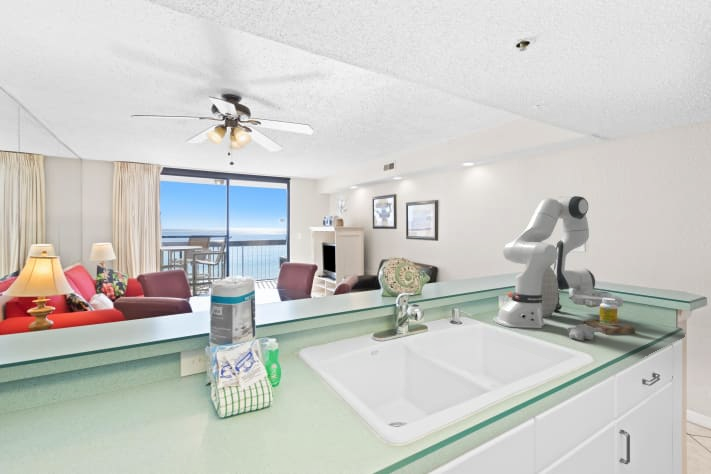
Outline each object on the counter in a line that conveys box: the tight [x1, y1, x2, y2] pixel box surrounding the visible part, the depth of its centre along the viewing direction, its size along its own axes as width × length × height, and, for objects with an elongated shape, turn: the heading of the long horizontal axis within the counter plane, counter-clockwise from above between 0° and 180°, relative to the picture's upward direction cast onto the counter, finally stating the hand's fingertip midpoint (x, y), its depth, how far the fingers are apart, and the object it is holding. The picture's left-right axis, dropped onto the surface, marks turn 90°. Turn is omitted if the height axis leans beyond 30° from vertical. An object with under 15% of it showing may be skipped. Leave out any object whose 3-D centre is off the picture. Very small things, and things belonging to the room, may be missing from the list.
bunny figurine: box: [567, 323, 603, 342], centre depth 136 cm, size 10×5×15 cm
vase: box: [541, 266, 559, 318], centre depth 169 cm, size 13×13×28 cm
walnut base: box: [582, 319, 636, 335], centre depth 146 cm, size 14×12×2 cm
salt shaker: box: [553, 291, 563, 314], centre depth 177 cm, size 6×6×12 cm
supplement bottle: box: [598, 298, 618, 325], centre depth 146 cm, size 6×6×11 cm
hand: (605, 304), depth 149 cm, fingers open, 8 cm apart
